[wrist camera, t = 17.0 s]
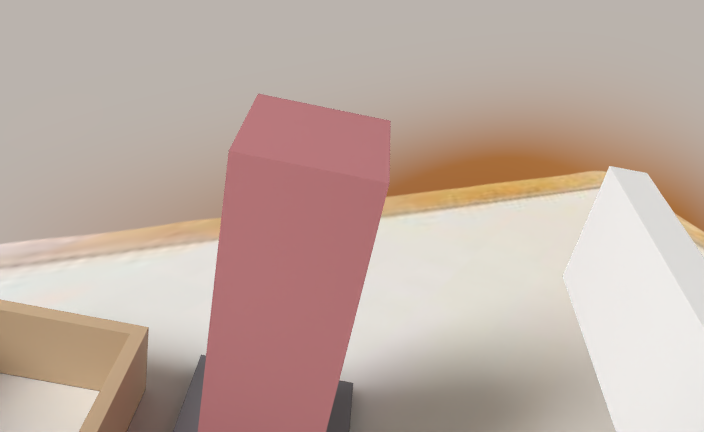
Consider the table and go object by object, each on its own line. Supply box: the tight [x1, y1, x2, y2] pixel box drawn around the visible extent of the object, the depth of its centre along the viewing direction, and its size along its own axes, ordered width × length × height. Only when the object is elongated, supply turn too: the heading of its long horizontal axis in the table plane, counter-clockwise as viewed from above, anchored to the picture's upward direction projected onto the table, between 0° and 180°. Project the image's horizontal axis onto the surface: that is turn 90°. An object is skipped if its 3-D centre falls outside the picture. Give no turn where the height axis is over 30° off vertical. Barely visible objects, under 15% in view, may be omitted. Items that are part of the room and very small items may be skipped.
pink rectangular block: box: [198, 94, 390, 432], centre depth 32 cm, size 6×6×20 cm
